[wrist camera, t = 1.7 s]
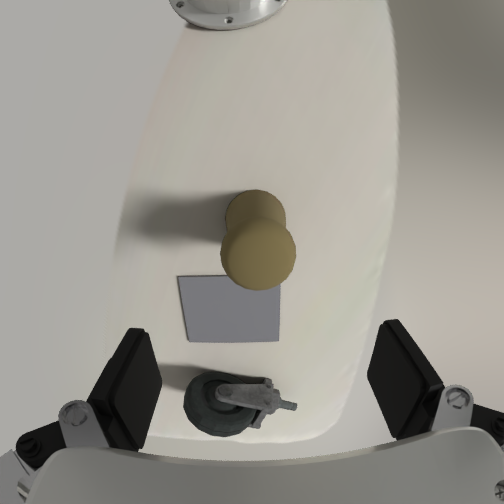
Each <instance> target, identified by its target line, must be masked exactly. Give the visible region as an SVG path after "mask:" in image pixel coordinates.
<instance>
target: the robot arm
mask: <svg viewBox="0 0 504 504" xmlns="http://www.w3.org/2000/svg"><path fill="white" fill-rule="evenodd" d="M169 1H170V4H171V6H172V7H173V9H174V10H175V12H176V13H177V14H178V15H179V16H180V17H182V18H183V19H185V20H186V21H187V22H190V23H192V24H194V25H196V26H200V27H204V28H208V29H217V30H232V29H239V28H245V27H249V26H252V25H256V24H258V23H260V22H263V21H265V20H267V19H269V18H270V17H272V16H273V15H275V14H276V13H277V12H278V11H279V10H280V9H281V8H282V7H283V6H284V5H285V3H286V2H287V0H169ZM277 1H279V2H277ZM182 6H183V7H182ZM227 22H232V23H227ZM367 378H368V381H369V383H370V385H371V387H372V390H373V392H374V395H375V397H376V399H377V402H378V404H379V406H380V409H381V411H382V414H383V416H384V418H385V421H386V423H387V425H388V428H389V431H390V433H391V435H392V437H393V438H396V440H397V441H394V442H390V443H386V444H382V445H377V446H373V447H369V448H365V449H359V450H354V451H349V452H344V453H337V454H331V455H323V456H317V457H308V458H298V459H285V460H268V461H216V460H199V459H187V458H177V457H169V456H160V455H153V454H146V453H140V452H138V450H139V449H142V448H143V446H144V443H145V439H146V436H147V433H148V429H149V426H150V423H151V419H152V416H153V413H154V410H155V407H156V403H157V400H158V397H159V394H160V391H161V388H162V378H161V375H160V372H159V369H158V365H157V362H156V358H155V355H154V351H153V348H152V344H151V341H150V337H149V334H148V333H147V332H145V331H144V329H141V328H129V329H128V331H127V332H126V334H125V336H124V337H123V339H122V341H121V343H120V344H119V346H118V348H117V349H116V351H115V353H114V355H113V356H112V358H110V360H109V361H108V363H107V364H106V366H105V368H104V370H103V372H102V373H101V375H100V377H99V379H98V381H97V382H96V384H95V386H94V388H93V390H92V392H91V393H90V395H89V397H88V399H87V401H86V402H85V401H82V400H74V401H70V402H69V403H66V404H65V405H64V406H63V407H62V408H61V410H60V411H59V415H58V417H59V421H56V422H53V423H51V424H49V425H46V426H43V427H41V428H38V429H35V430H33V431H30V432H27V433H25V434H23V435H22V436H21V437H20V438H19V439H18V441H17V443H16V450H15V451H12V449H11V450H10V451H8V452H7V453H5V454H4V455H3V456H1V457H0V504H504V413H502V412H499V411H495V410H492V409H489V408H485V407H483V406H479V405H476V404H473V403H474V402H473V401H474V400H473V396H472V393H471V392H470V391H469V390H468V389H467V388H465V387H463V386H461V385H450V386H448V387H446V388H445V386H444V385H443V382H442V380H441V379H440V377H439V376H438V374H437V373H436V371H435V370H434V368H433V367H432V366H431V364H430V362H429V361H428V360H427V358H426V357H425V355H424V354H423V353H422V351H421V350H420V348H419V347H418V345H417V344H416V343H415V341H414V340H413V339H412V337H411V336H410V334H409V333H408V332H407V330H406V329H405V328H404V326H403V325H402V324H401V322H400V321H399V320H398V319H394V320H386V321H384V323H383V324H381V325H380V327H379V330H378V335H377V338H376V342H375V346H374V350H373V354H372V357H371V361H370V364H369V368H368V371H367Z"/></svg>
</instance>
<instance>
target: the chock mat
mask: <svg viewBox="0 0 504 504" xmlns="http://www.w3.org/2000/svg"><path fill="white" fill-rule="evenodd" d="M178 278H179V284H180V291H181V297H182V304H183V310H184V315H185V321H186V327H187V332H188V337H189V342H208V343H234V342H273V341H279V325H280V284H279V285H278V286H276V287H273V288H271V289H268V290H260V291H254V290H249V289H245V288H243V287H241V286H239V285H237V284H235V283H234V282H233V281H232V280H231V279H230V278H229V277H228V276H227V275H212V276H179V277H178Z"/></svg>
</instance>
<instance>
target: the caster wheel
mask: <svg viewBox="0 0 504 504" xmlns="http://www.w3.org/2000/svg"><path fill="white" fill-rule="evenodd" d="M183 408H184V410H185V413H186V415H187V417H188V420H189V421H190V422H191V423H192V424H193V425H194V426H195V427H196V428H197V429H199V430H201V431H203V432H205V433H207V434H209V435H212V436H220V437H228V436H232V435H236V434H239V433H241V432H242V431H243V430H245V429H246V428H247V427H251V428H256V429H259V428H260V427H261V422H262V421H263V419H264V418H265V416H266V415H267V414H270V415H271V414H273V413H274V412H275V411H276V409H278V408H283V409H288V410H293V411H295V410H296V408H297V403H292V402H289V401H284V400H282V399H281V397H280V393H279V390H277V389H273V384H272V380H271V379H267V378H265V379H264V381H263V383H262V384H245V383H244V382H243V381H241V380H240V379H238V378H236V377H234V376H232V375H229V374H225V373H220V372H210V373H203V374H201V375H199V376H197V377H195V378H194V379H193V380H192V381H191V382H190V384H189V385H188V387H187V389H186V392H185V396H184V405H183Z"/></svg>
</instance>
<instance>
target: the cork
mask: <svg viewBox="0 0 504 504" xmlns="http://www.w3.org/2000/svg"><path fill="white" fill-rule="evenodd" d="M225 220H226V227H227V234H226V235H225V237H224V239H223V241H222V246H221V251H220V255H221V262H222V266H223V268H224V270H225V272H226V274H227V276H228V277H229V278H230V279H231V280H232V281H233V282H234V283H235V284H237V285H239V286H241V287H243V288H245V289H249V290H254V291H260V290H268V289H271V288H273V287H276V286H278V285H279V284H280V283H282V282H283V281H284V280H286V279H287V277H288V276H289V274H290V273H291V271H292V269H293V266H294V263H295V259H296V246H295V244H294V241H293V239H292V236H291V234H290V232H289V231H288V230H287V229H286V217H285V211H284V208H283V206H282V204H281V202H280V201H279V200H278V199H277V198H276V197H275V196H273V195H272V194H270V193H268V192H266V191H261V190H249V191H246V192H244V193H241V194H239V195H238V196H237V197H236V198H234V199H233V200H232V201H231V203H230V205H229V207H228V208H227V212H226V217H225Z"/></svg>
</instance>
